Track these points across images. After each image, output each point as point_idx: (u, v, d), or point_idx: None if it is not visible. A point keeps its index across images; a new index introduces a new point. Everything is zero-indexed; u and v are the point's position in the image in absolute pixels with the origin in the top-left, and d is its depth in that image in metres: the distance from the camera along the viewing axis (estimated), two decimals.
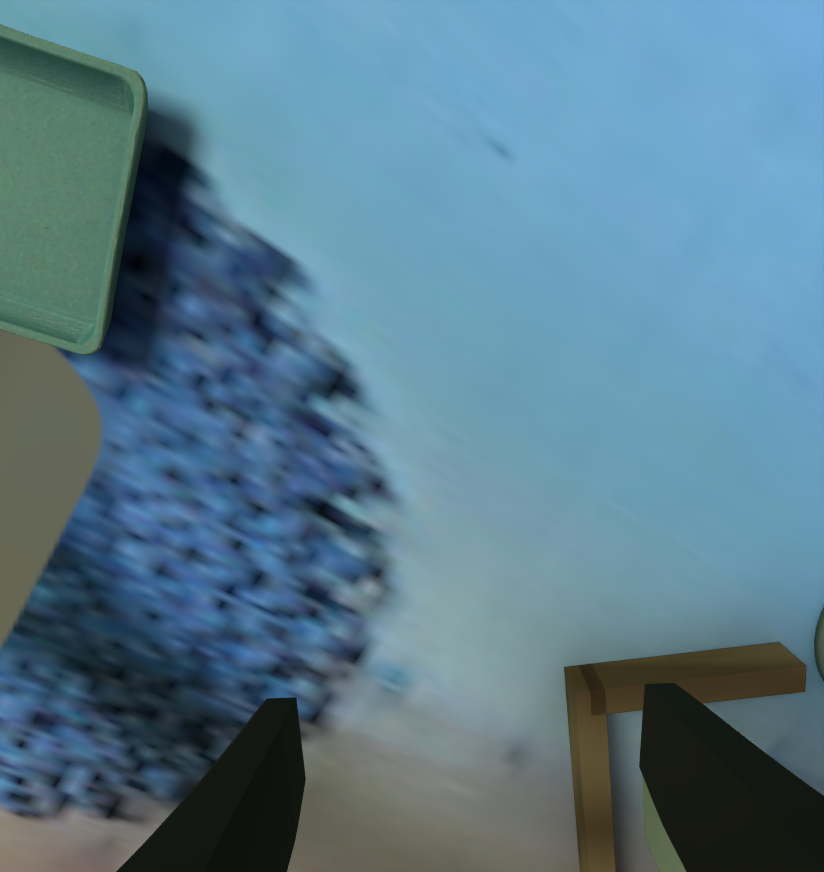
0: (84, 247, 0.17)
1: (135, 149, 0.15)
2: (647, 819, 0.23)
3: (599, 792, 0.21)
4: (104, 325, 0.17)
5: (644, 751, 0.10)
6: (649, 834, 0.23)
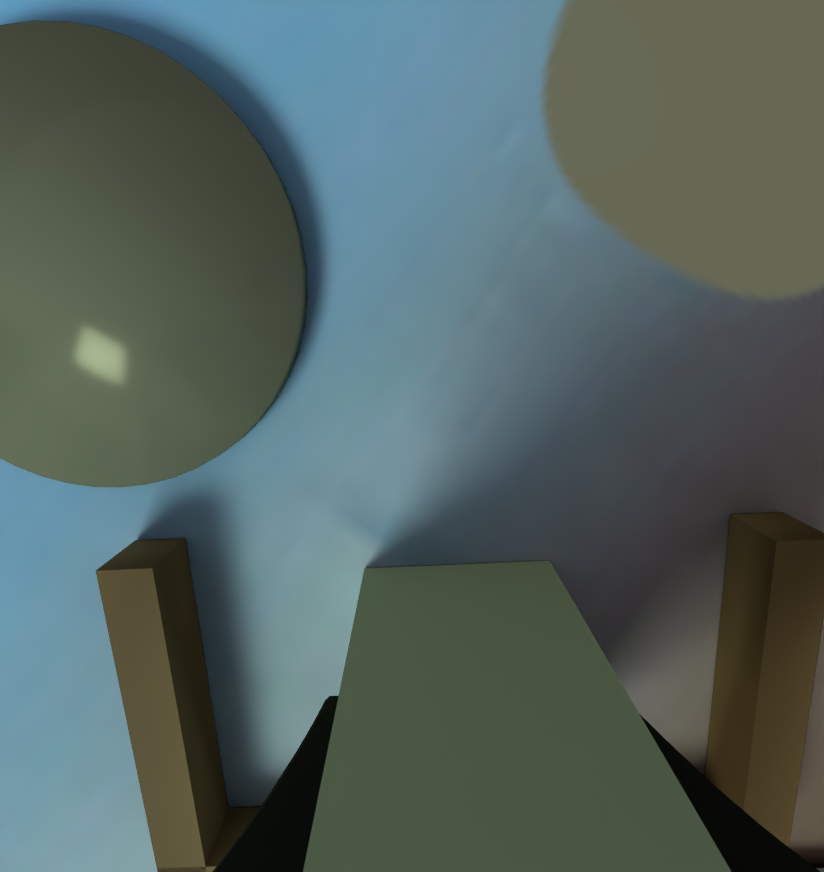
0: None
1: None
2: None
3: None
4: None
5: None
6: None
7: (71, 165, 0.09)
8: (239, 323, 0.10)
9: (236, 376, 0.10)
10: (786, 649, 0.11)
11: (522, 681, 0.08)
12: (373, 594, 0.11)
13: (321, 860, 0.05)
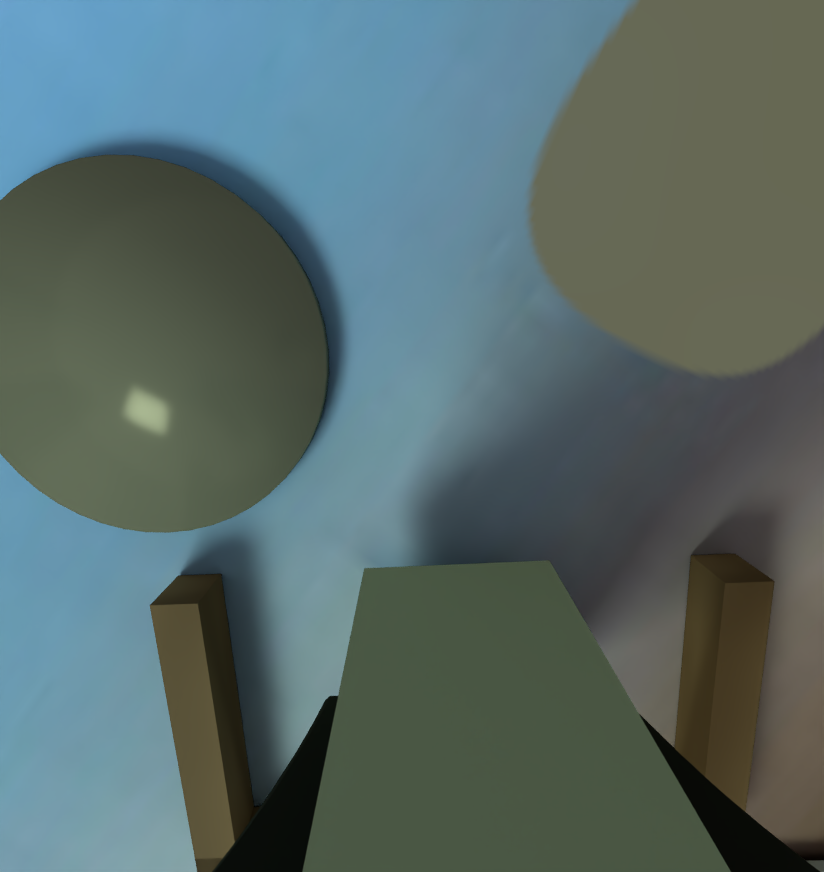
0: None
1: None
2: None
3: None
4: None
5: None
6: None
7: (134, 269, 0.11)
8: (272, 397, 0.12)
9: (269, 441, 0.12)
10: (735, 673, 0.12)
11: (522, 680, 0.08)
12: (373, 594, 0.11)
13: (321, 859, 0.05)
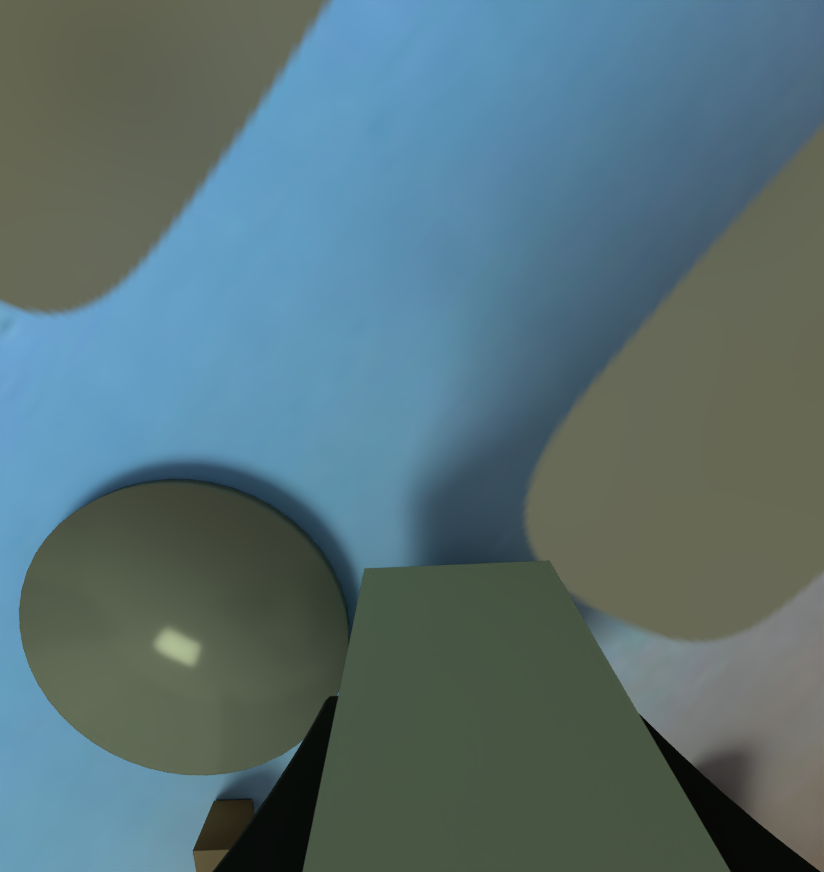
0: None
1: None
2: None
3: None
4: None
5: None
6: None
7: (181, 571, 0.13)
8: (300, 670, 0.14)
9: (297, 704, 0.14)
10: None
11: (522, 680, 0.08)
12: (373, 594, 0.11)
13: (321, 860, 0.05)
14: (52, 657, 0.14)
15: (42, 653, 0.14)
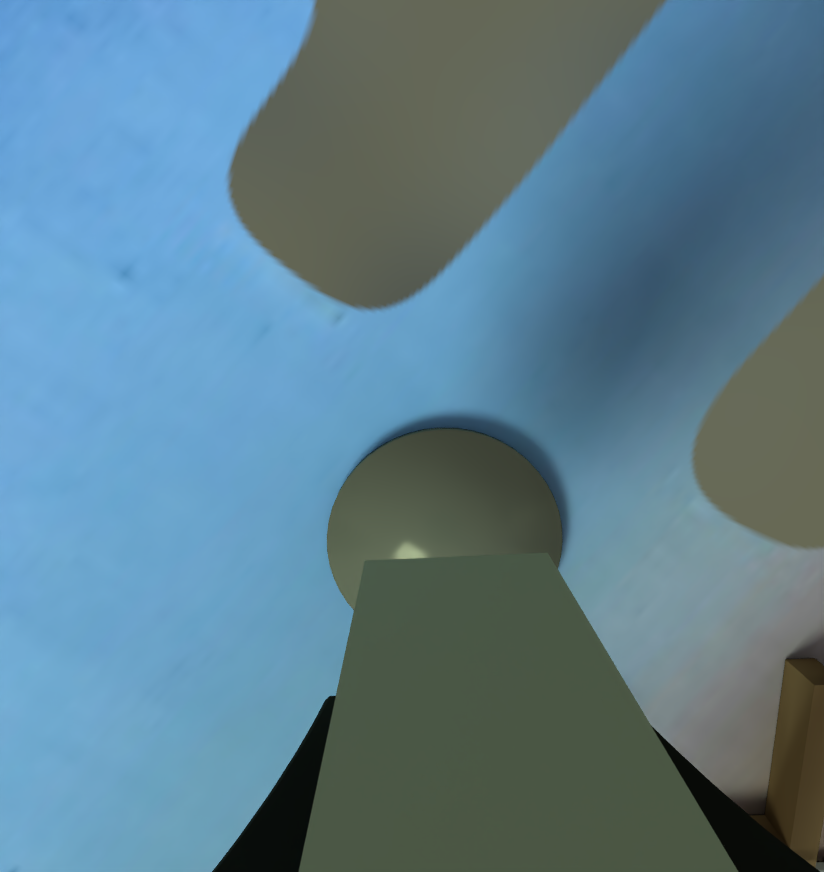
0: None
1: None
2: None
3: None
4: None
5: None
6: None
7: (448, 493, 0.18)
8: None
9: None
10: (818, 740, 0.19)
11: (520, 666, 0.08)
12: (373, 585, 0.11)
13: (322, 834, 0.06)
14: (347, 558, 0.19)
15: (340, 555, 0.19)
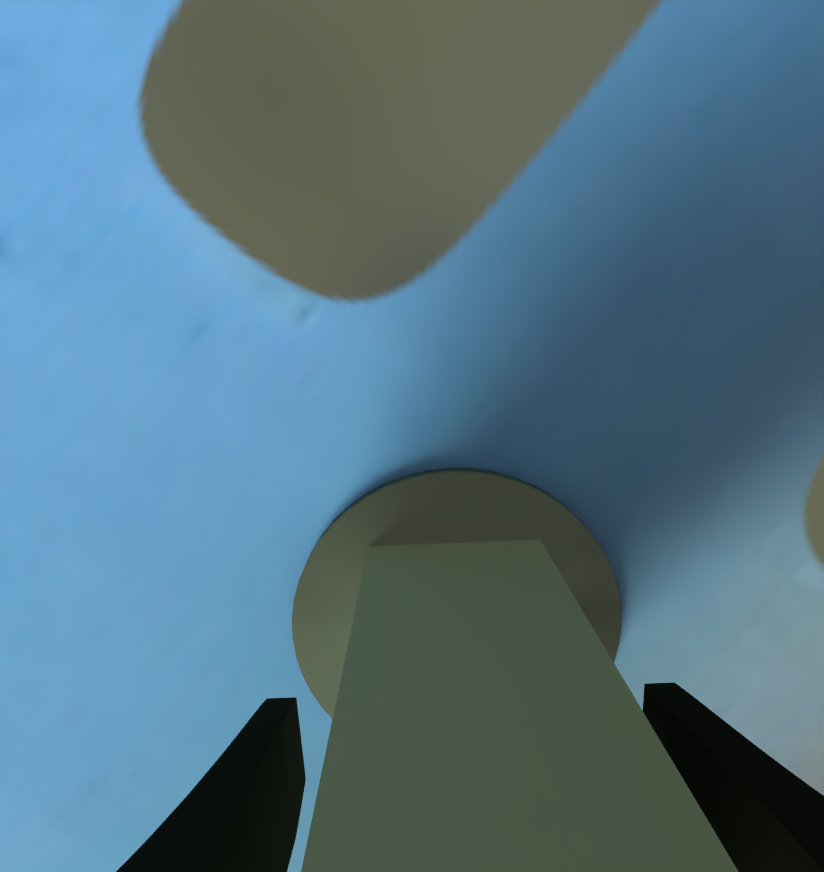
0: None
1: None
2: None
3: None
4: None
5: None
6: None
7: None
8: None
9: None
10: None
11: (511, 637, 0.09)
12: (377, 567, 0.12)
13: (335, 771, 0.06)
14: (320, 648, 0.13)
15: (311, 644, 0.13)
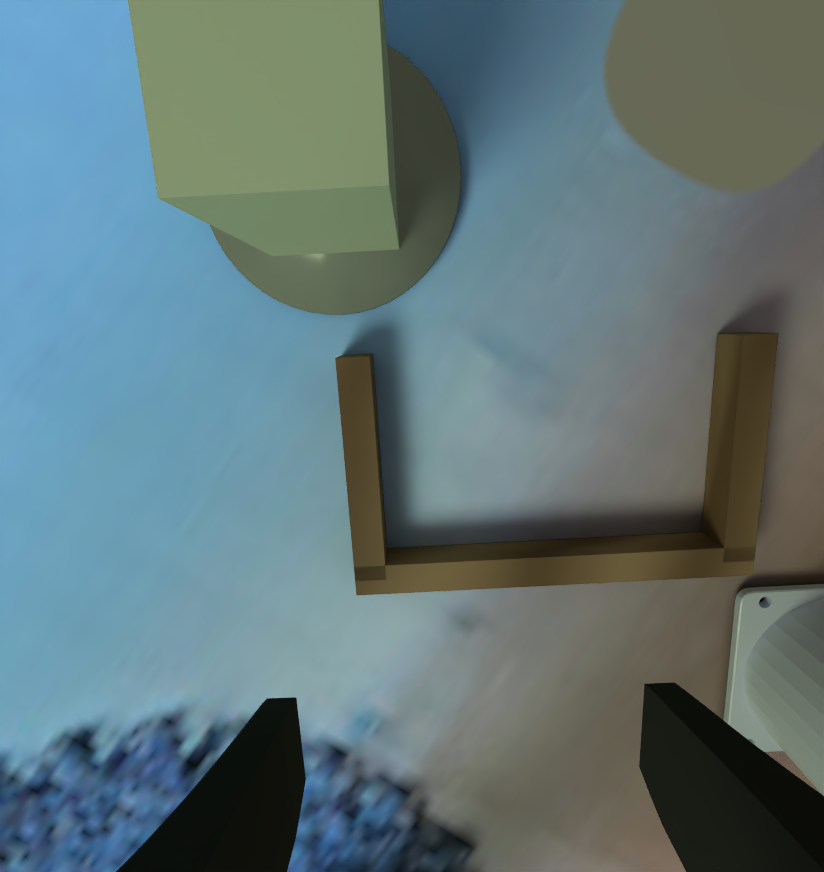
0: None
1: None
2: (353, 250, 0.17)
3: (486, 572, 0.19)
4: None
5: (644, 751, 0.10)
6: (372, 248, 0.17)
7: None
8: (421, 207, 0.17)
9: (417, 241, 0.17)
10: (751, 406, 0.17)
11: None
12: None
13: None
14: None
15: None
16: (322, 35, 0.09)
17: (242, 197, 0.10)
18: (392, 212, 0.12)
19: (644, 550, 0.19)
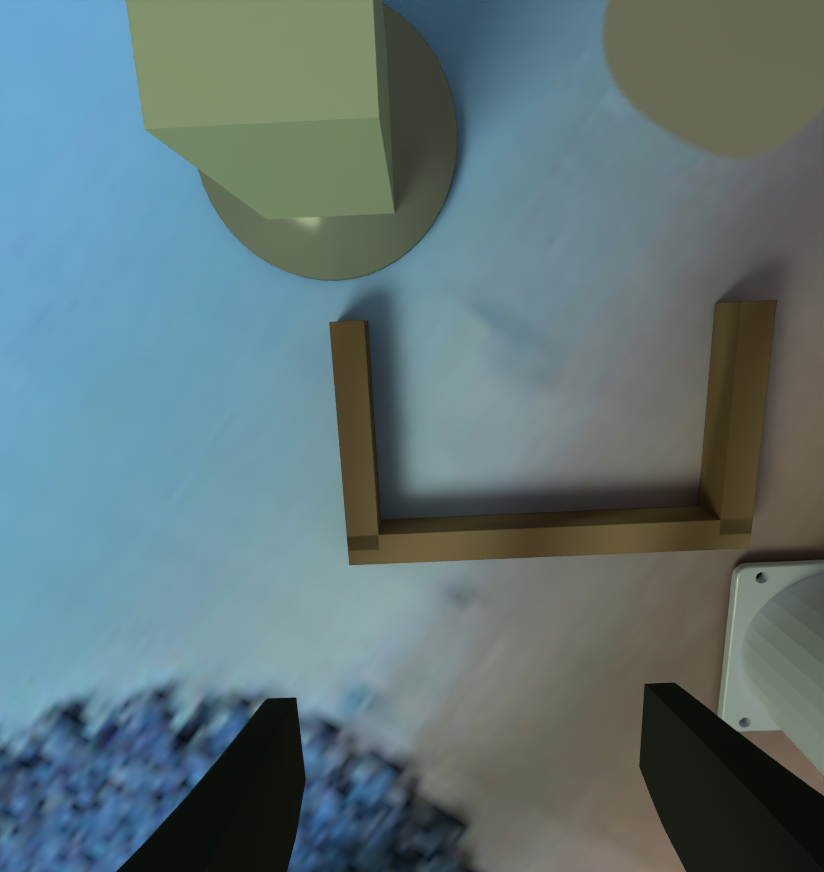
0: None
1: None
2: (348, 213, 0.17)
3: (480, 542, 0.19)
4: None
5: (644, 751, 0.10)
6: (367, 211, 0.17)
7: None
8: (417, 171, 0.17)
9: (413, 205, 0.17)
10: (748, 375, 0.17)
11: None
12: None
13: None
14: None
15: None
16: None
17: (230, 130, 0.10)
18: (384, 158, 0.12)
19: (640, 522, 0.19)
